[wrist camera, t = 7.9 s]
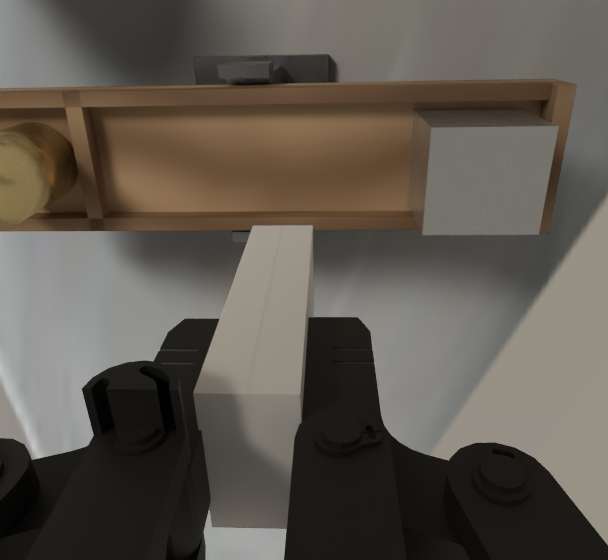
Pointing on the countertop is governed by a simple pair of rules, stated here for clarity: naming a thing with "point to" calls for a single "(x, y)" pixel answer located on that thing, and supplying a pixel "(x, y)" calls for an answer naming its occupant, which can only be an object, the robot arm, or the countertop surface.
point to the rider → (479, 170)
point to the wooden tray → (256, 151)
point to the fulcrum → (260, 78)
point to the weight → (33, 170)
